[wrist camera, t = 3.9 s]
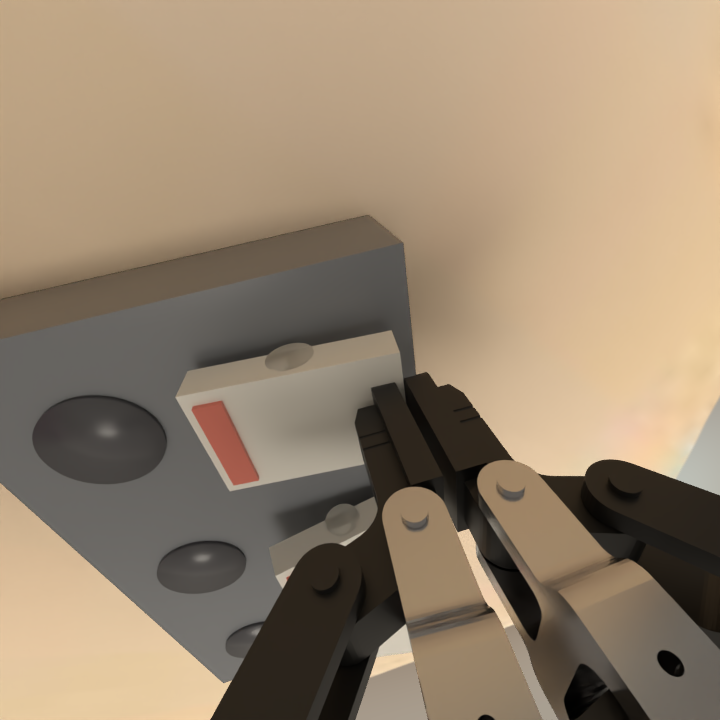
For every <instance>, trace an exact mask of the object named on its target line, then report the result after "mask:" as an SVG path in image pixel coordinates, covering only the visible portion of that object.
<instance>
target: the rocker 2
mask: <svg viewBox="0 0 720 720" xmlns="http://www.w3.org/2000/svg"><path fill="white" fill-rule="evenodd" d="M377 509H378V508H377V504H376V501H375V498H374V497H372V498H370V499H368V500H366V501H364V502H362V503H360V504H358V505H356V506H352V505H350V504H339V505H337V506H335V507H333V508H332V509H331V510H330V511H329V512H328V514H327V516H326V519H325V521H323V522H321V523H318V524H316V525H314V526H312V527H310V528H308V529H306V530H304V531H302V532H300V533H298V534H296V535H294V536H292V537H290V538H288V539H286V540H283V541H281V542H279V543H277V544H275V545H273V546H271V547H269V551H270V555H271V560H272V564H273V568H274V573H275V577H276V578H277V580H278V582H279V583H280V585H281V587H282V588H284V586H285V584H286V582H287V580H288V579H289V577H290V575H291V573H292V571H293V570H294V568H295V566H296V564H297V563H298V561H299V560H300V559H301V558H302V556H303V555H304V554H305V553H307V552H308V551H309V550H311V549H312V548H314V547H316V546H318V545H321V544H325V543H337V544H341V545H343V546H346V545H348V544H349V543H351V542H352V541H354V540H355V539H356V538H358V537H359V536H361V535H362V534H363V533H364V532H365V531H366V530H367V529H368V528H369V527H370V526H371V524H372V523H373V521H374V519H375V517H376V514H377Z"/></svg>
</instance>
